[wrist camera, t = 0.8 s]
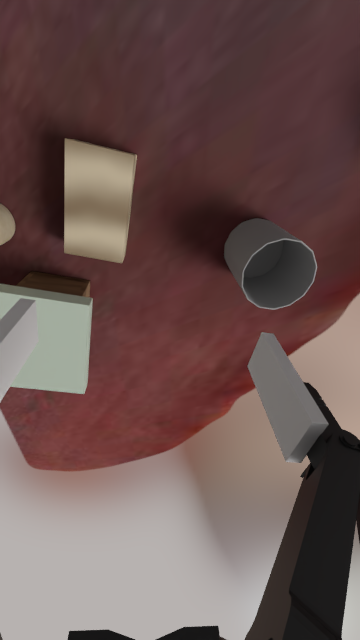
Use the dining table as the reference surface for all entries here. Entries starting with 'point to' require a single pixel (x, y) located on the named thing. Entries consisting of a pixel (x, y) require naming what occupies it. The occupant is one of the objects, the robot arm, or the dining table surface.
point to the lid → (54, 339)
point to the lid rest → (97, 200)
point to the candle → (6, 225)
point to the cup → (269, 263)
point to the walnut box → (56, 284)
